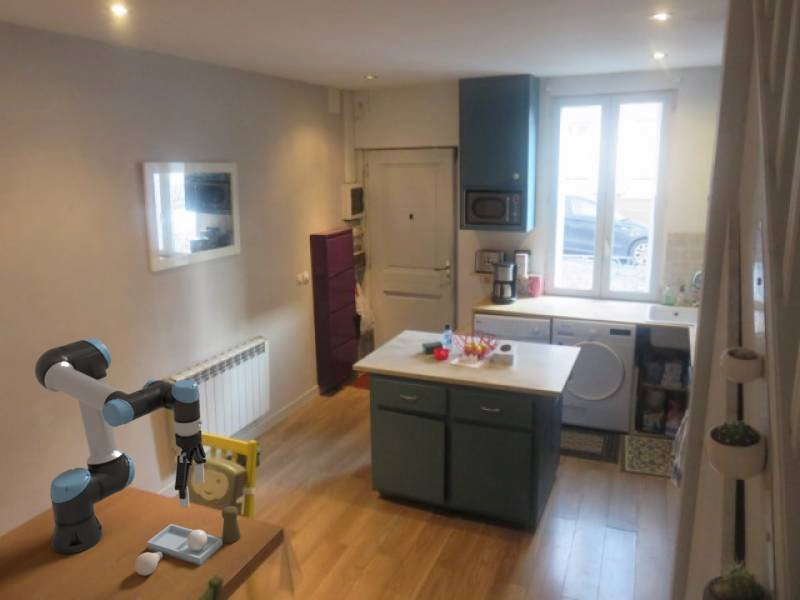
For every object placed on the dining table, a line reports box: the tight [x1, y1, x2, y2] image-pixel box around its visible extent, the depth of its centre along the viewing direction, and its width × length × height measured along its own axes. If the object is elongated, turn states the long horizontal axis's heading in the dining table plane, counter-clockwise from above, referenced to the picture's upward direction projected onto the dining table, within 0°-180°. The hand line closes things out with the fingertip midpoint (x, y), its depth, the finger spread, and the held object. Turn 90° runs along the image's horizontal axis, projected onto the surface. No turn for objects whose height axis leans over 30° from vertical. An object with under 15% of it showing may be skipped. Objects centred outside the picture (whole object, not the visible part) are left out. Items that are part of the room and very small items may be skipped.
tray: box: [146, 523, 224, 566], centre depth 203 cm, size 21×11×2 cm, turn 68°
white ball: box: [187, 529, 207, 551], centre depth 200 cm, size 6×6×6 cm
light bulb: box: [134, 551, 164, 577], centre depth 192 cm, size 7×7×11 cm
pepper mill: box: [221, 505, 242, 544], centre depth 207 cm, size 6×6×11 cm
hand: (192, 494), depth 192 cm, fingers open, 13 cm apart
